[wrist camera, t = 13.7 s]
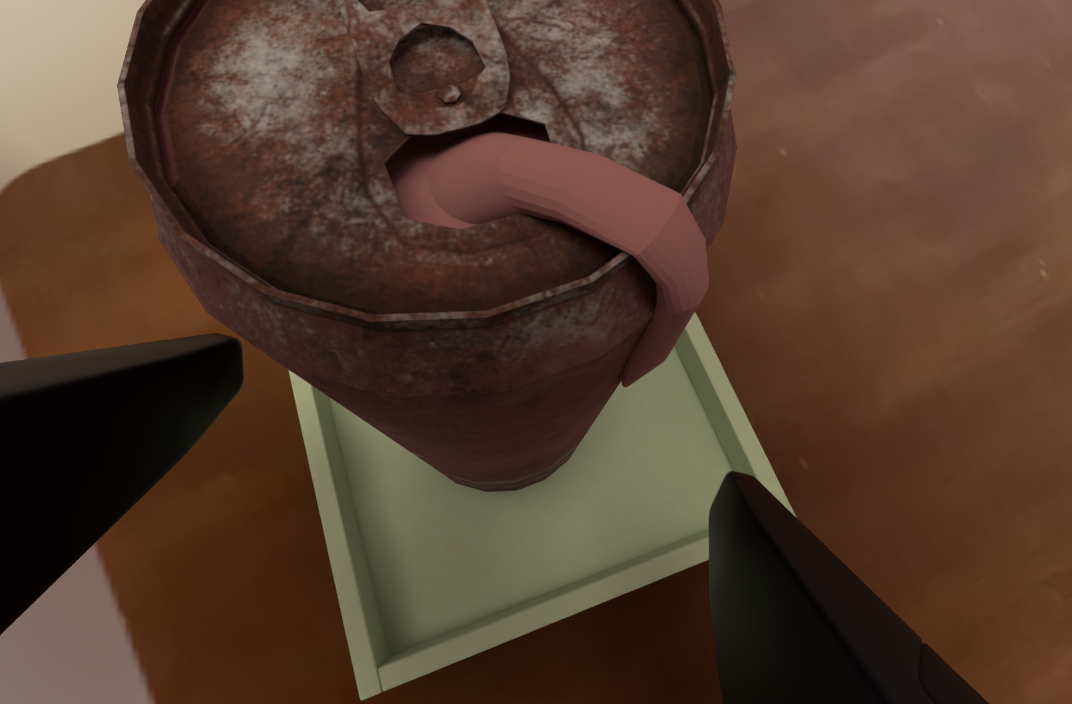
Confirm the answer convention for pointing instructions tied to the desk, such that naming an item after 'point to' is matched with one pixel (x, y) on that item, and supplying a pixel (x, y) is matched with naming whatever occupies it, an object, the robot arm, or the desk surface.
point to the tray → (521, 519)
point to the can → (442, 200)
